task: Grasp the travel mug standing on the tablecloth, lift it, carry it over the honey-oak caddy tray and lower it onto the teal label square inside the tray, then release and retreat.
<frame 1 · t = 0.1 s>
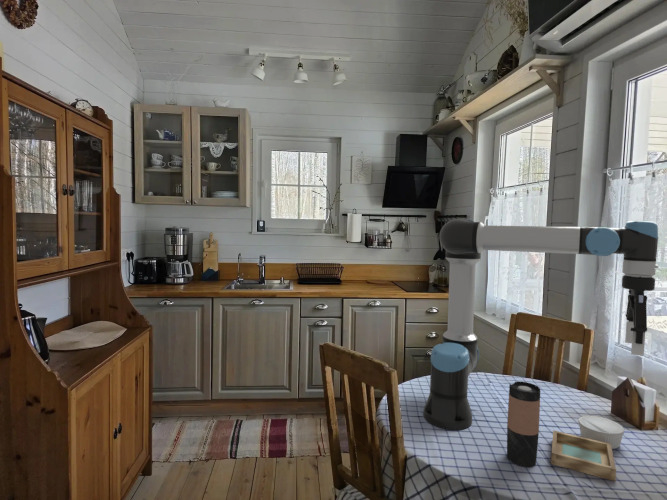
hand: (633, 348, 117), 28 cm above the table, fingers open, 13 cm apart
travel mug: (521, 460, 109), on the table
ramekin: (599, 442, 119), on the table
caddy tray: (581, 459, 110), on the table
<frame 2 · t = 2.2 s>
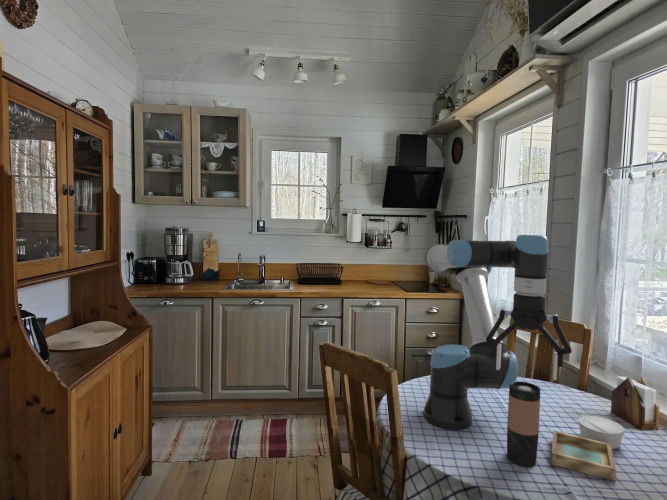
hand: (525, 373, 107), 24 cm above the table, fingers open, 13 cm apart
nothing on the table moved.
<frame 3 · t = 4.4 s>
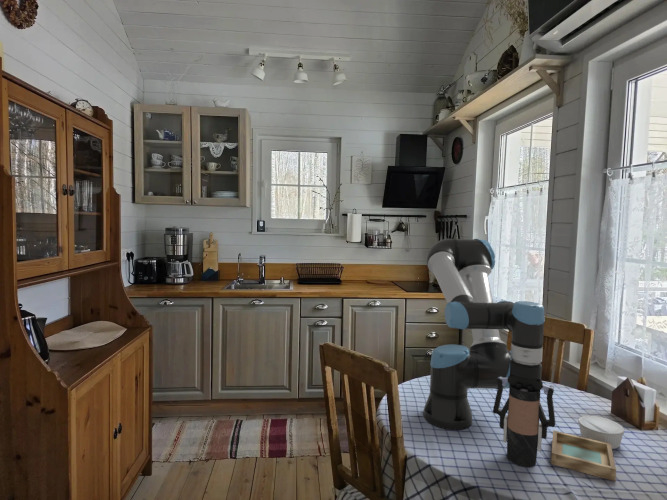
hand: (521, 444, 109), 4 cm above the table, fingers closed on travel mug, 8 cm apart
travel mug: (521, 460, 109), on the table, touching gripper
everything else where it was.
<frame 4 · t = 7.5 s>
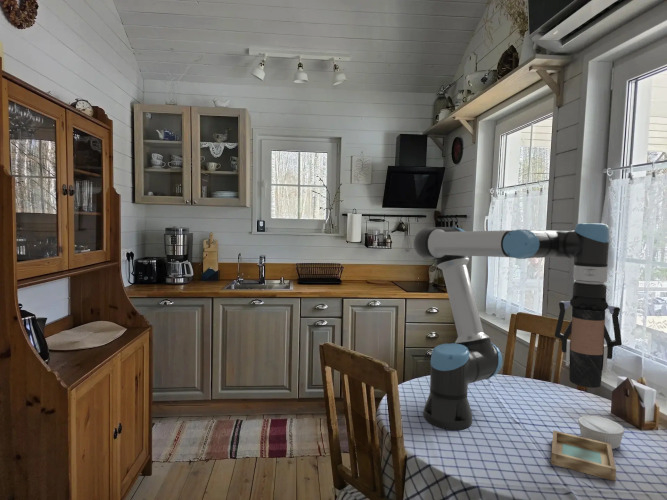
hand: (585, 367, 108), 25 cm above the table, fingers closed on travel mug, 8 cm apart
travel mug: (584, 383, 108), point 21 cm above the table, touching gripper
everything else where it was.
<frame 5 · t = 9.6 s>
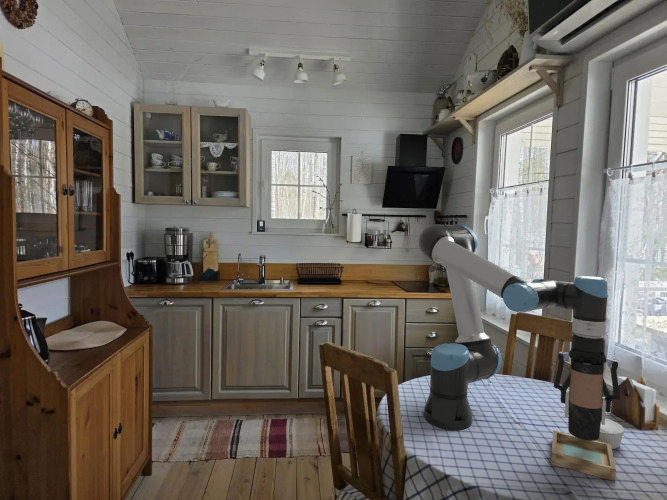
hand: (584, 418, 109), 11 cm above the table, fingers closed on travel mug, 8 cm apart
travel mug: (583, 434, 109), point 7 cm above the table, touching gripper
everything else where it was.
when the fingers open (7 cm above the table, at t = 10.9 s): travel mug drops 2 cm, resting on caddy tray.
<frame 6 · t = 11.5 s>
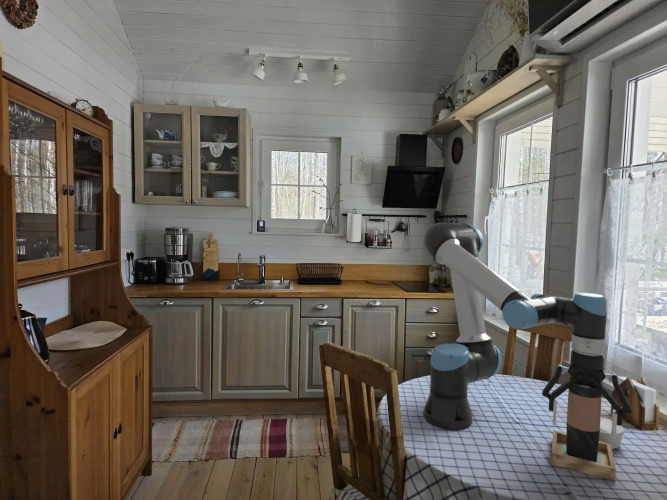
hand: (582, 429, 109), 8 cm above the table, fingers open, 13 cm apart
travel mug: (581, 456, 109), point 1 cm above the table, touching caddy tray
everything else where it was.
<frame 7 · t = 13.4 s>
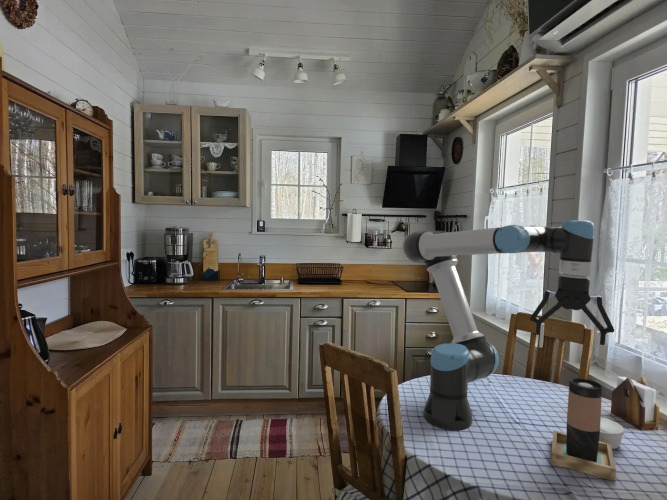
hand: (568, 351, 114), 28 cm above the table, fingers open, 13 cm apart
nothing on the table moved.
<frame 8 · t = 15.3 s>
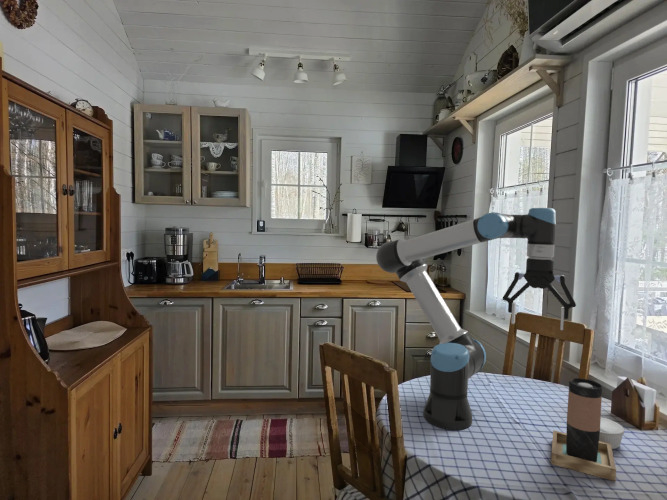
hand: (536, 326, 126), 32 cm above the table, fingers open, 13 cm apart
nothing on the table moved.
at the end: travel mug inside the target area on the caddy tray (0.1 cm from its centre), point 0.7 cm above the caddy tray's base; travel mug touching caddy tray; travel mug tilted 0° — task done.
